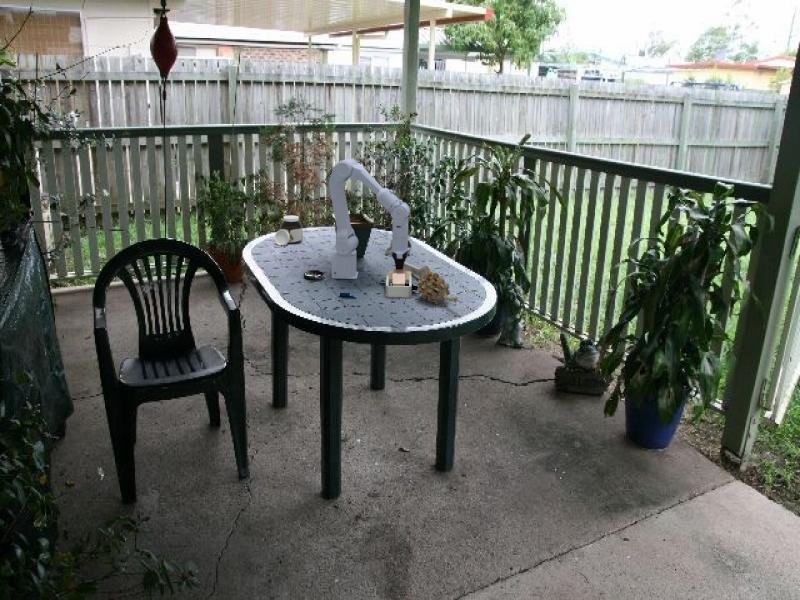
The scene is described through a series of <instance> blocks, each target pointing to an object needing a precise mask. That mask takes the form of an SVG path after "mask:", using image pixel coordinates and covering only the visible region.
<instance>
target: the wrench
mask: <svg viewBox="0 0 800 600" xmlns="http://www.w3.org/2000/svg"><path fill="white" fill-rule="evenodd" d="M403 270H406V271H411V275H415V276H418V278H419V279H420V278H421V276H422V275H424V273H427V272H432V273H433V274H434V273H435V269H434V267H433V266H432V265H428V264H427V265H424V266H423V267H422V268H421V267H418V266H416V265H414V264H412V263H409V262H407V261H405V262H404V266H403Z"/></svg>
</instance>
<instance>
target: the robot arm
mask: <svg viewBox="0 0 800 600" xmlns="http://www.w3.org/2000/svg"><path fill="white" fill-rule="evenodd" d="M331 169H332V172H331V175H330V178H329V180H328V187H329V193H330V197H331V204H332V208H333V214H334V219H335V220H334V221H335V224H336V235H335V244H334V249H335V251H336V253H335V252H334V253H332V254H331V279H341V280H342V279H343V280H345V279H347V280H357V279H358V275H359V271H357V250H356V248H357V247H358V246H359V239H358V237H357V235H356V234H355V230H354V229H353V227H352V225H351V219H350V213H349V208H348V202H347V197H346V191H345V186H344V185H345V184H346V183H347V182H348V180H349V179H350V180H355V181H360V182H361V183H362V184H363V185H364V186H366V187H367V188H368V189H369V190H370V191H371V192H373V194H375V195H376V201H377V202H378V203H379V204H381V206H382V207H383V208H385V210H386V211H388V212H389V213H390V216H391V219H392V233H391V234H392V235H391V237H392V239H391V240H392V250H391V251H393V253H392V255H391V257H392V259H393V261H394V265H395V266H394V267H395V269H402V270H403V266H404V262H406V259H407V258H408V255H407V251H410V252H411V251H412V247H411V248H408V240H409V216H410V213H411V207H410V206H409V204H408V203H407V202H403V200H402V199H399V198H398V197H397V196H396V195H395V194H394V190H393V189H389V188H386V187H385V188H383V186H381V184H379V182H377V180H376V179H375V178H374V177H373V176H372V175H371V174H370V173H369V172H368V171H367V169H366V168H365V167H364V166H363V165H362V164H361V163H360V162H358V161H357V160H356V158H353V157H347V158H345V159H343V160H342V159H341V160H339V161H338V162H336V163H335V165H334V166H333V167H332V168H331Z"/></svg>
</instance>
